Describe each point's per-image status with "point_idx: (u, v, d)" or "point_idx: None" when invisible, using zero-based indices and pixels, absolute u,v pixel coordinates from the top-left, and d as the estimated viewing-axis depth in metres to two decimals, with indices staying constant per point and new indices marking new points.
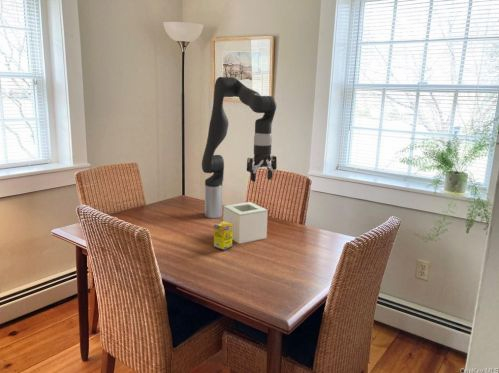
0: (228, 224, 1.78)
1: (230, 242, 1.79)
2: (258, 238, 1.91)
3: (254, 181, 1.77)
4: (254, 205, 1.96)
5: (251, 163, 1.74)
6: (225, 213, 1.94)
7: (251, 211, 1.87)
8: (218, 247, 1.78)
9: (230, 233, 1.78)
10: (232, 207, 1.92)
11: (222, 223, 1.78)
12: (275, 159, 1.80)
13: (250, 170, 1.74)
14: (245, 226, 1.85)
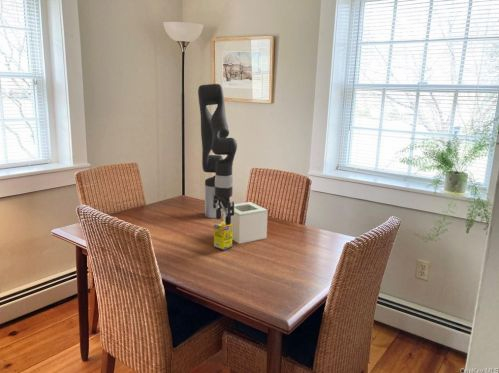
0: None
1: (230, 242, 1.79)
2: (258, 238, 1.91)
3: (230, 223, 1.74)
4: (254, 205, 1.96)
5: None
6: None
7: (251, 211, 1.87)
8: (218, 247, 1.78)
9: (230, 233, 1.78)
10: None
11: (222, 223, 1.78)
12: None
13: None
14: (245, 226, 1.85)
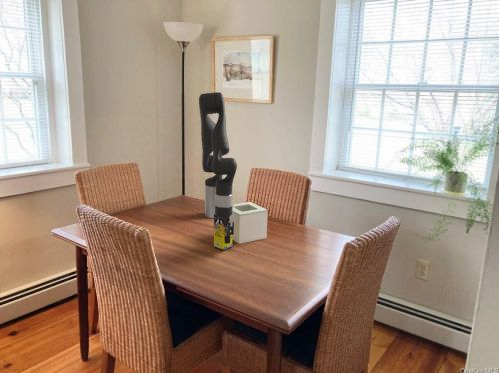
0: None
1: (230, 242, 1.79)
2: (258, 238, 1.91)
3: (229, 242, 1.77)
4: (254, 205, 1.96)
5: None
6: None
7: (251, 211, 1.87)
8: (218, 247, 1.78)
9: None
10: (232, 207, 1.92)
11: None
12: None
13: None
14: (245, 226, 1.85)
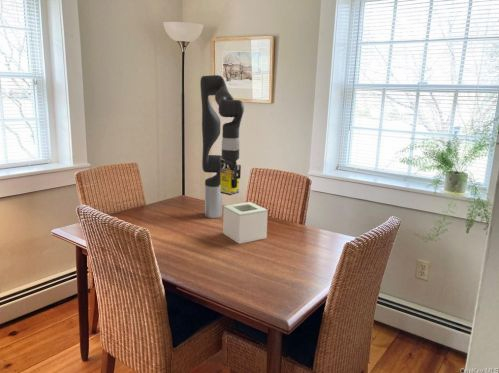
0: None
1: (237, 187, 1.78)
2: (258, 238, 1.91)
3: None
4: (254, 205, 1.96)
5: None
6: (225, 213, 1.94)
7: (251, 211, 1.87)
8: (224, 192, 1.77)
9: None
10: (232, 207, 1.92)
11: None
12: None
13: None
14: (245, 226, 1.85)
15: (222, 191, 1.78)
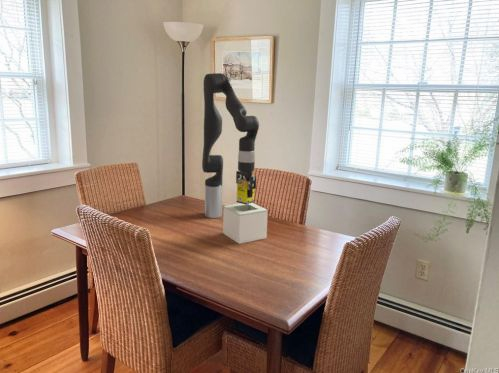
0: None
1: (252, 197, 1.90)
2: (258, 238, 1.91)
3: (251, 196, 1.88)
4: (254, 205, 1.96)
5: None
6: (225, 213, 1.94)
7: (251, 211, 1.87)
8: (241, 201, 1.89)
9: None
10: (232, 207, 1.92)
11: None
12: None
13: None
14: (245, 226, 1.85)
15: (238, 200, 1.90)
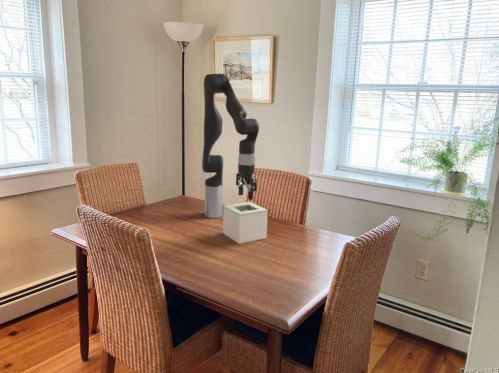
0: None
1: None
2: (258, 238, 1.91)
3: (252, 198, 1.88)
4: (254, 205, 1.96)
5: None
6: (225, 213, 1.94)
7: (251, 211, 1.87)
8: None
9: None
10: (232, 207, 1.92)
11: None
12: None
13: None
14: (245, 226, 1.85)
15: None
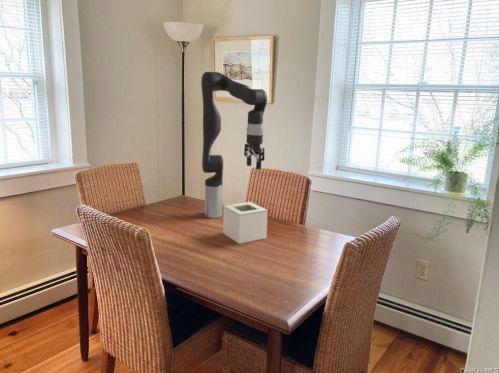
0: None
1: None
2: (258, 238, 1.91)
3: (260, 168, 1.92)
4: (254, 205, 1.96)
5: None
6: (225, 213, 1.94)
7: (251, 211, 1.87)
8: None
9: None
10: (232, 207, 1.92)
11: None
12: None
13: None
14: (245, 226, 1.85)
15: None
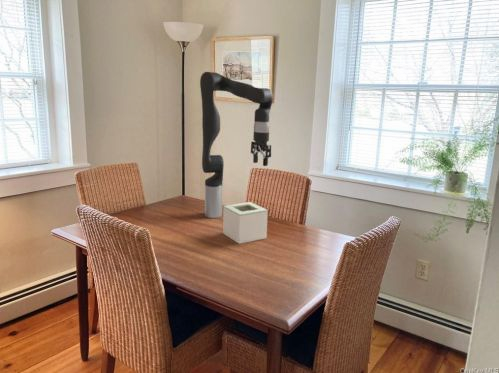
0: None
1: None
2: (258, 238, 1.91)
3: None
4: (254, 205, 1.96)
5: None
6: (225, 213, 1.94)
7: (251, 211, 1.87)
8: None
9: None
10: (232, 207, 1.92)
11: None
12: None
13: None
14: (245, 226, 1.85)
15: None
